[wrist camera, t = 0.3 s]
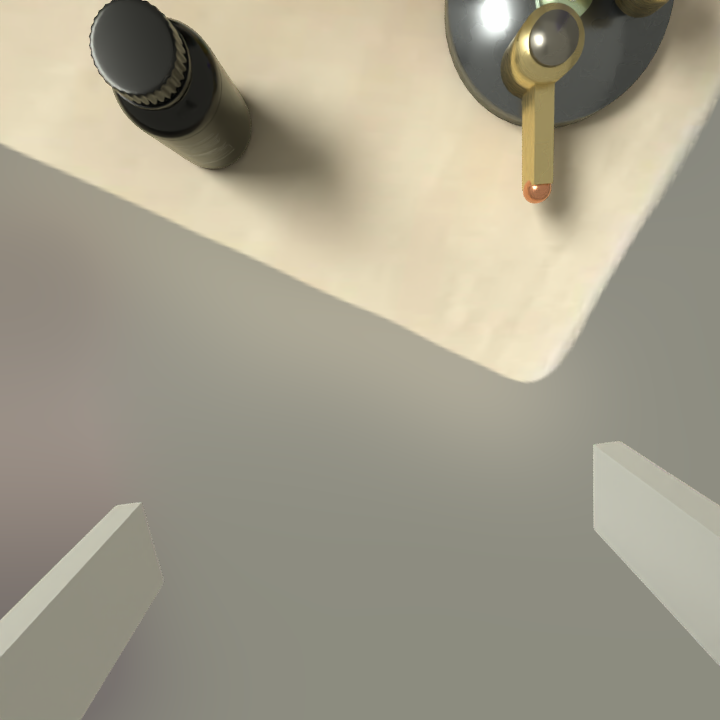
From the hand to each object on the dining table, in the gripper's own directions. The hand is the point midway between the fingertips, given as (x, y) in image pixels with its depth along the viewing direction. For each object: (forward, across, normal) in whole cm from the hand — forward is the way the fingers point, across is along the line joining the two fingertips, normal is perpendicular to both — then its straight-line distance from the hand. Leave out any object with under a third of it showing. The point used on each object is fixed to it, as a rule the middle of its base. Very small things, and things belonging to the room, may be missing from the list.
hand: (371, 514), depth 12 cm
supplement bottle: (+27, -10, +20) cm, 35 cm away
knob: (+24, +15, +16) cm, 33 cm away
